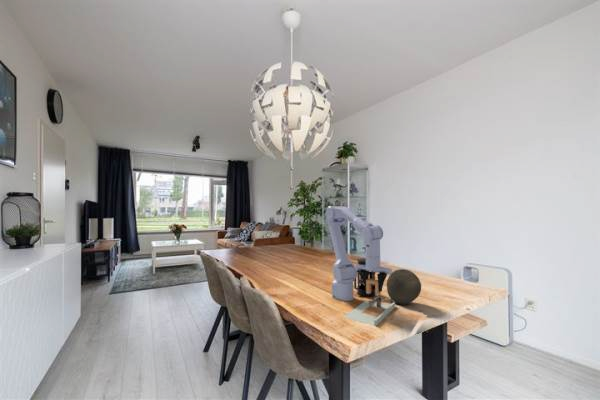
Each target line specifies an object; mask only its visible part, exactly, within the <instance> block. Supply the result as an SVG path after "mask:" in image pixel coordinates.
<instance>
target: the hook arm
mask: <svg viewBox="0 0 600 400" xmlns="http://www.w3.org/2000/svg"><path fill="white" fill-rule="evenodd" d="M368 301H369V306H370V307H372V305H374V304H375V303H377V307H378V308H377V307H376V308H377V309H381V304H382V296H380V295H379V296H377V295H376V296H375V298H374V299H372V300H368Z"/></svg>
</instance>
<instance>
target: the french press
mask: <svg viewBox="0 0 600 400" xmlns="http://www.w3.org/2000/svg"><path fill="white" fill-rule="evenodd" d="M361 249H363V250H364V252H365V253H366V246H363V247H361ZM356 261H357V264H359V265H366V257H362V258H357V259H356ZM359 272H360V270H357V277H356V278H355V279H354V280H355V281H353V290H356V295H357V296H360V297H363V298H374V297H377V295H375V284H371V293H370V294H367V293H366V289H365V286H364V283H363V280H362V278H361V276H360V274H359ZM376 273H377V272H371V271H369V279H374V280H376Z"/></svg>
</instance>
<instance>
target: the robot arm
mask: <svg viewBox="0 0 600 400" xmlns="http://www.w3.org/2000/svg"><path fill="white" fill-rule="evenodd" d="M324 215H325V218H326V223H327V225H328V228H329V233H330V237H331V241H332V246H333V250H334V255H335V259H336V261H335V262H334V264H333V265H332V267H333V270H332V271H333V273H332V274H333V278H334V280H333V281H332V282H331V284H332V285H331V298H333V299H336V300H339V301H345V302H349V301H350V302H351V301H352V300H354V281H355V280H354V279H355V278H356V279H357V278H358V274H357V270H360V272H359V274H360V276H361V278H362V280H363V283H364V286H365V289H366V280H367V279H369V272H376V273H378V274H376V276H377V280H378V291H379V292H381V293H382V291H383V288H384V287H383V286H384V283H385V281H386V278H387V276H390V275H391V274H392V272H393V268H388V267H384V266H381V240H382V239H383V236H384V231H383V228H382V227H381V226H380V225H373V223H372V222H369V221H368V220H366V217H364V216H359V217H358V216H357V215H355V214H354V213H353V212H352V211H350V207H347V206H345V205H343V206H341V205H340V206H338V205H337V206H332V205H329V206H328V207H327V208H326V210H325V214H324ZM346 221H347V222H348V223H351V224H352V227H353V228H354V229H355V230H356V231H357V232H358V233H359V234H361V236H362V238H363V241H364V242H363V243H364V245H365V247H366V252H365V258H366V265H359V264H358V263H357V264H354V262H353V260H351V259H349V257H348V253H347V249H346V245H345V242H344V237H343V233H342V230H341V229H342V228H341V227H342V225H344V223H345V222H346Z"/></svg>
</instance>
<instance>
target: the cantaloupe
mask: <svg viewBox="0 0 600 400" xmlns="http://www.w3.org/2000/svg"><path fill="white" fill-rule="evenodd" d="M386 290H387V296H388V297H389V298H390V299H391V300H392V302H395V304H397V305H408V304H411V303H413V302H414V301H415V300H416V299H417V298H419V296H420V294H421V292H422V283H421V281H420V278H419V277H418V276H417V275H416V273H414V272H413V271H411V270H410V269H409V270H408V269H405V268H404V269H403V268H402V269H401V268H400V269H396V270H393V271H392V274H391V275H388V278H387V280H386Z"/></svg>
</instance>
